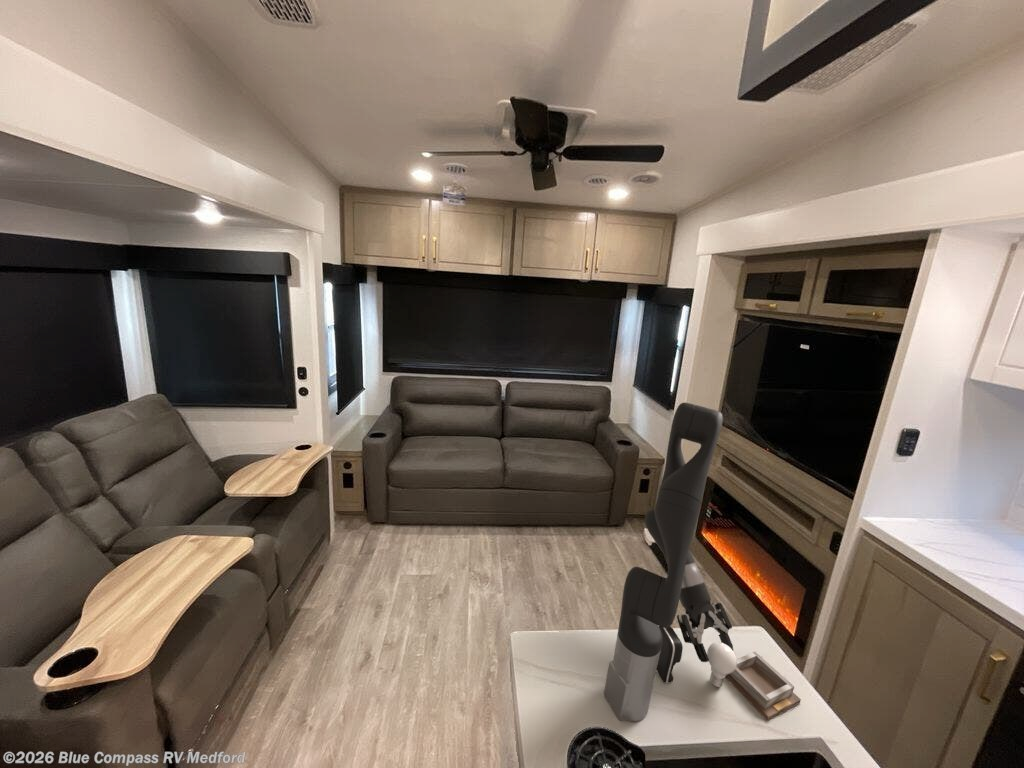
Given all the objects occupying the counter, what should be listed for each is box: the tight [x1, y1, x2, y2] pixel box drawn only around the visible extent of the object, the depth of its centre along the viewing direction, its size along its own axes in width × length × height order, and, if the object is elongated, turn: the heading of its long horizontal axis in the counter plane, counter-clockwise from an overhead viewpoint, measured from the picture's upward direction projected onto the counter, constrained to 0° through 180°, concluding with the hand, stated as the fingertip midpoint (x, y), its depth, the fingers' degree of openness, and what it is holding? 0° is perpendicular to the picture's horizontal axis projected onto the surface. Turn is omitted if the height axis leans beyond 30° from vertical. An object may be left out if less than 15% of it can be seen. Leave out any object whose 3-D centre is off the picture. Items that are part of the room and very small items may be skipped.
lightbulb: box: [706, 641, 738, 688], centre depth 95 cm, size 6×6×11 cm
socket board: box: [724, 651, 802, 721], centre depth 97 cm, size 12×13×4 cm
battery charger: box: [656, 626, 684, 684], centre depth 98 cm, size 7×4×11 cm, turn 7°
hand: (717, 656), depth 96 cm, fingers open, 8 cm apart
